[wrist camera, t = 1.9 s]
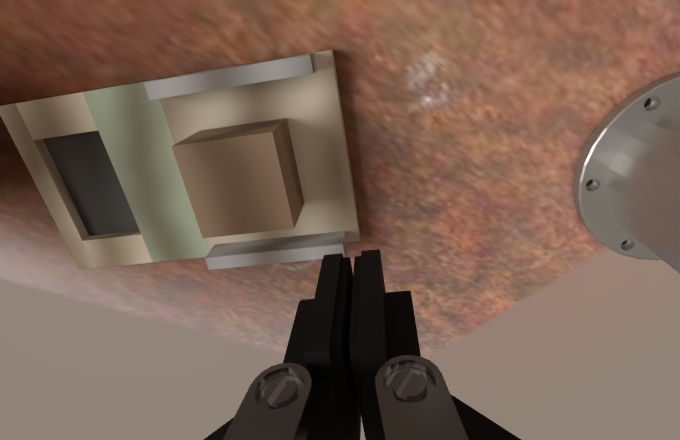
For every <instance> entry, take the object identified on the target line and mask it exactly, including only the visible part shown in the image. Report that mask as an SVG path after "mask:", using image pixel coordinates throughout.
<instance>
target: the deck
mask: <svg viewBox="0 0 680 440" xmlns="http://www.w3.org/2000/svg"><path fill="white" fill-rule="evenodd" d="M0 116H1V118H2V120H3V122H4V124H5V126H6V127H7V129H8V131H9V133H10V135H11V137H12V139H13V141H14V143H15V145H16V147H17V149H18V151H19V153H20V155H21V157H22V159H23V161H24V163H25V165H26V167H27V169H28V171H29V172H30V174H31V176H32V178H33V180H34V182H35V184H36V186H37V188H38V190H39V192H40V194H41V196H42V198H43V200H44V202H45V204H46V206H47V208H48V210H49V212H50V214H51V216H52V217H53V219H54V221H55V223H56V225H57V227H58V229H59V231H60V233H61V235H62V237H63V239H64V241H65V243H66V245H67V247H68V249H69V251H70V253H71V255H72V257H73V259H74V261H75V262H76V264H77V266H78V268H79V270H82V269H92V268H102V267H112V266H122V265H131V264H141V263H151V262H161V261H171V260H181V259H191V258H201V257H205V260H206V263H207V266H208V269H209V270H213V269H223V268H233V267H244V266H254V265H265V264H275V263H286V262H296V261H306V260H317V259H323V256H324V255H329V254H339V253H342V254H343V257H345V254H346V246H347V243H350V242H360V239H361V233H360V227H359V220H358V213H357V207H356V200H355V194H354V187H353V180H352V174H351V167H350V160H349V154H348V147H347V140H346V134H345V127H344V121H343V114H342V107H341V101H340V94H339V87H338V81H337V74H336V67H335V61H334V54H333V50H327V51H321V52H315V53H309V54H303V55H297V56H292V57H286V58H280V59H274V60H268V61H262V62H256V63H250V64H244V65H238V66H233V67H227V68H221V69H215V70H209V71H203V72H197V73H191V74H185V75H179V76H174V77H168V78H162V79H156V80H150V81H144V82H138V83H132V84H126V85H120V86H114V87H109V88H103V89H97V90H91V91H85V92H79V93H73V94H67V95H61V96H55V97H50V98H44V99H38V100H32V101H26V102H20V103H14V104H8V105H3V106H0ZM282 118H287V122H288V126H289V131H290V136H291V141H292V145H293V150H294V155H295V160H296V164H297V169H298V174H299V179H300V183H301V188H302V193H303V198H304V202H305V203H304V206H303V208H302V211H301V213H300V216H299V218H298V221H297V223H296V226H295V228H294V229H285V230H276V231H267V232H257V233H248V234H239V235H230V236H220V237H211V238H203V237H202V234H201V232H200V229H199V226H198V223H197V220H196V217H195V214H194V211H193V208H192V205H191V202H190V199H189V196H188V194H187V191H186V188H185V185H184V182H183V179H182V176H181V173H180V170H179V167H178V164H177V161H176V159H175V156H174V153H173V150H172V147H171V146H173V145H175V144H176V143H178V142H180V141H182V140H184V139H185V138H187V137H189V136H191V135H193V134H194V133H196V132H198V131H201V130H207V129H214V128H221V127H228V126H235V125H241V124H248V123H255V122H262V121H268V120H275V119H282Z"/></svg>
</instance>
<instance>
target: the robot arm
mask: <svg viewBox="0 0 680 440" xmlns="http://www.w3.org/2000/svg"><path fill="white" fill-rule="evenodd" d="M646 100H647V101H646ZM645 101H646V103H645ZM588 181H589V182H588ZM587 182H588V183H587ZM573 195H574V204H575V207H576V210H577V213H578V216H579V218H580V220H581V221H582V223H583V224H584V226H585V228H586V229H587V230H588V231H589V232H590V233H591V234H592V235H593V236H594V237H595V238H596V239H597V240H598V241H600V242H601V243H602V244H604V245H605V246H606V247H608V248H609V249H611V250H613V251H615V252H617V253H619V254H622V255H625V256H629V257H633V258H637V259H647V260H648V259H649V260H663V261H665V262H666V263H667V264H668V265H670V266H671V267H672V268H674V269H675V270H676V271H677V272H679V273H680V72H678V73H675V74H672V75H669V76H665V77H663V78H661V79H659V80H657V81H655V82H653V83H651V84H649V85H647V86H645V87H643V88H641V89H640V90H638V91H637V92H635V93H634V94H632V95H631V96H630V97H628V98H627V99H625V100H624V101H622V102H621V103H620V104H619V105H618V106H617V107H616V108H615V109H614V110H613V111H611V112H610V113H609V114H608V115H607V116H606V117H605V118H604V120H603V121H602V122H601V123H600V125H599V126H598V127H597V128H596V129H595V131H594V132H593V133H592V135H591V136H590V138H589V140H588V142H587V143H586V145H585V147H584V149H583V150H582V153H581V155H580V158H579V161H578V164H577V166H576V169H575V176H574V182H573ZM361 417H362V423H363V428H364V432H365V438H366V440H521V439H519V438H518V437H516V436H514V435H513V434H511V433H509V432H508V431H506V430H505V429H503V428H502V427H500V426H499V425H497V424H496V423H494V422H493V421H491V420H489V419H488V418H487V417H485V416H483V415H482V414H480V413H479V412H477V411H475V410H474V409H473V408H471V407H469V406H468V405H466V404H465V403H463V402H462V401H460V400H459V399H457V398H456V397H454V396H452V395H451V394H450V393H449V390H448V388H447V385H446V383H445V380H444V378H443V376H442V373H441V372H440V370H439V369H438V367H437V366H436V365H435V364H433V363H432V362H431V361H430V360H427V359H425V358H423V357H421V355H420V349H419V342H418V336H417V329H416V323H415V317H414V310H413V304H412V297H411V292H410V291H400V292H388V293H385V285H384V277H383V270H382V262H381V254H380V249H378V250H369V251H361V256H357V257H355V261H354V275H353V272H352V266H351V261H350V257H347V258H344V257H343V254H342V253H339V254H329V255H324V256H323V260H322V265H321V270H320V275H319V279H318V284H317V289H316V294H315V298H314V299H307V300H301V301H300V302H299V305H298V309H297V312H296V316H295V320H294V324H293V328H292V331H291V335H290V339H289V343H288V346H287V350H286V354H285V358H284V362H283V363H281V364H278V365H275V366H271V367H270V368H268V369H266V370H264V371H263V372H262V373H260V374H259V375H258V376H257V377H256V378H255V380H254V381H253V382H252V384H251V385H250V387H249V389H248V391H247V393H246V395H245V397H244V399H243V401H242V403H241V405H240V407H239V409H238V411H237V413H236V415H235V416H234V418H232V419H231V420H230V421H228V422H227V423H226V424H224V425H223V426H222V427H220V428H219V429H218V430H216V431H215V432H213V433H212V434H211V435H209V436H208V437H207V438H205V439H204V440H360V428H361Z"/></svg>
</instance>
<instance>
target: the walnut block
mask: <svg viewBox="0 0 680 440" xmlns="http://www.w3.org/2000/svg"><path fill="white" fill-rule="evenodd" d="M171 147H172V150H173V153H174V156H175V159H176V161H177V164H178V167H179V170H180V173H181V176H182V179H183V182H184V185H185V188H186V191H187V194H188V196H189V199H190V202H191V205H192V208H193V211H194V214H195V217H196V220H197V223H198V226H199V229H200V232H201V234H202V237H203V238H211V237H220V236H230V235H239V234H248V233H257V232H267V231H276V230H285V229H294V228H295V226H296V223H297V221H298V218H299V216H300V213H301V211H302V208H303V206H304V203H305V202H304V198H303V193H302V188H301V183H300V179H299V174H298V169H297V164H296V160H295V155H294V150H293V145H292V141H291V136H290V131H289V126H288V122H287V118H282V119H275V120H268V121H262V122H255V123H248V124H241V125H235V126H228V127H221V128H214V129H207V130H201V131H198V132H196V133H194V134H193V135H191V136H189V137H187V138H185V139H184V140H182V141H180V142H178V143H176V144H175V145H173V146H171Z"/></svg>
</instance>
